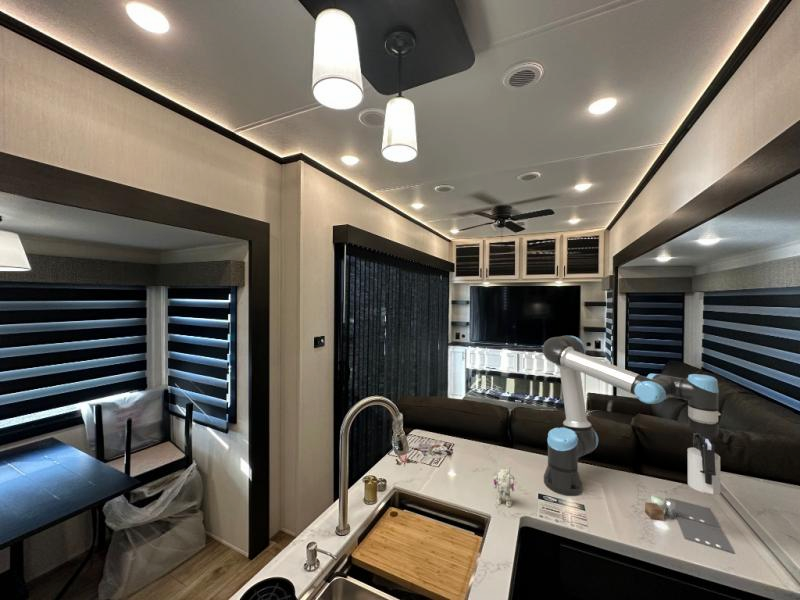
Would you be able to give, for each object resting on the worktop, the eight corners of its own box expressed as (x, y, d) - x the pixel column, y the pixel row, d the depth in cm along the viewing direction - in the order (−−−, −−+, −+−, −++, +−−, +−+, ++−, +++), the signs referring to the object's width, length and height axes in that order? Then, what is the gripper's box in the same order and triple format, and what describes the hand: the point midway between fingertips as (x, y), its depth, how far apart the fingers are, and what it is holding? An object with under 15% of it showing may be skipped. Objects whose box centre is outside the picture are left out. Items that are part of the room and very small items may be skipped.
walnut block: (651, 519, 115) (651, 509, 115) (645, 512, 119) (645, 502, 119) (663, 521, 114) (663, 510, 114) (657, 513, 118) (657, 503, 118)
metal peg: (665, 517, 116) (665, 501, 116) (663, 512, 119) (663, 497, 119) (676, 520, 115) (676, 504, 115) (674, 515, 117) (674, 499, 117)
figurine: (518, 507, 122) (518, 469, 122) (503, 513, 119) (503, 474, 119) (503, 495, 129) (503, 459, 129) (489, 501, 126) (489, 464, 126)
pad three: (684, 538, 106) (684, 537, 106) (676, 517, 116) (676, 516, 116) (734, 553, 100) (734, 552, 100) (721, 530, 110) (721, 528, 110)
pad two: (676, 516, 117) (676, 514, 117) (669, 498, 127) (669, 497, 127) (720, 528, 111) (720, 527, 111) (709, 509, 121) (709, 507, 121)
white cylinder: (727, 496, 103) (727, 460, 103) (698, 493, 105) (698, 457, 105) (708, 482, 111) (708, 448, 111) (681, 479, 113) (681, 446, 113)
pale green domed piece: (658, 510, 120) (658, 502, 120) (648, 503, 124) (648, 495, 124) (666, 509, 121) (667, 501, 121) (656, 502, 125) (657, 495, 125)
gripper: (729, 433, 97) (730, 506, 97) (708, 412, 115) (708, 474, 115) (697, 428, 101) (697, 498, 101) (681, 409, 119) (681, 468, 119)
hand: (703, 485), depth 108 cm, fingers closed on white cylinder, 8 cm apart
